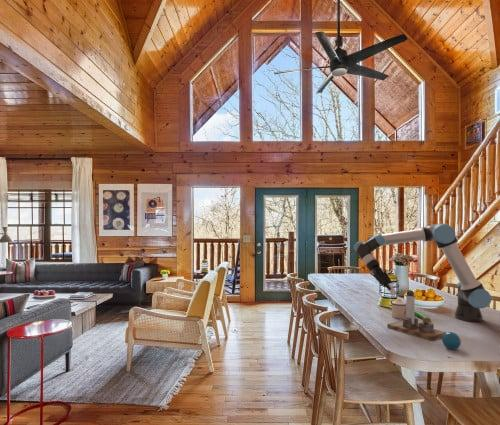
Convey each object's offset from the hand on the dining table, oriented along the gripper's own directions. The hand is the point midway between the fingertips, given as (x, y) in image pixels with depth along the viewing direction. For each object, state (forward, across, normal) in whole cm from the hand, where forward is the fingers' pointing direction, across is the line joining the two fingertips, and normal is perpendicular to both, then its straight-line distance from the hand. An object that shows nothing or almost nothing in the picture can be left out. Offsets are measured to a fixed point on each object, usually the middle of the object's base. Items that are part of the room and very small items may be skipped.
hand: (394, 293), depth 202 cm
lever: (+17, -1, -3) cm, 17 cm away
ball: (+40, +10, +13) cm, 43 cm away
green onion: (+8, -33, -19) cm, 39 cm away
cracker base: (+22, -1, -4) cm, 23 cm away
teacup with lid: (+5, -21, -21) cm, 31 cm away
